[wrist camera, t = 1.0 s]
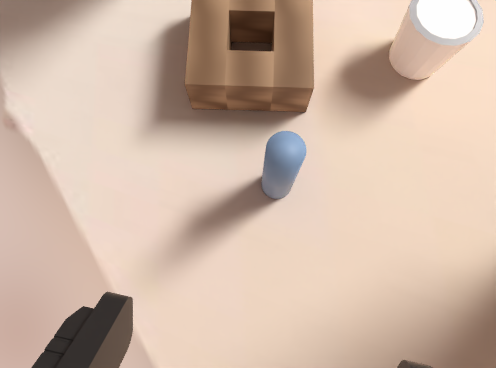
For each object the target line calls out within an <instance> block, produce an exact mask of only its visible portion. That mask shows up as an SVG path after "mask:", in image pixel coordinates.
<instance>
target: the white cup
mask: <svg viewBox="0 0 496 368" xmlns="http://www.w3.org/2000/svg"><path fill="white" fill-rule="evenodd" d="M483 23H484V20H483V10H482V8H481V6H480V5H479V3H478V1H477V0H412V1H411V3H410V5H409V7H408V10H407V12H406V14H405V16H404V19H403V21H402V23H401V25H400V28H399V30H398V32H397V34H396V37H395V39H394V41H393V43H392V46H391V48H390V50H389V60H390V63H391V65H392V67H393V68H394V69H395V70H396V71H397V72H398V73H399V74H400V75H402V76H404V77H406V78H409V79H416V80H421V79H425V78H428V77H430V76H431V75H433V74H434V73H435V72H436V71H437V70H438V69H439V68H441V67H442V66H443V65H444V64H445V63H446V62H447V61H448V60H450V59H451V58H452V57H453V56H454V55H455V54H456V53H458V52H459V51H460V50H461V49H462V48H463V47H464V46H465V45H467V44H468V43H469V42H470V41H471V40H472V39H473V38H474V37H476V36H477V35H478V34H479V33H480V30H481V28H482V25H483Z"/></svg>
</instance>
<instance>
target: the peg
mask: <svg viewBox="0 0 496 368" xmlns="http://www.w3.org/2000/svg"><path fill="white" fill-rule="evenodd" d="M305 156H306V145H305V143H304V141H303V139H302V138H301V137H300V136H299V135H297V134H295V133H293V132H290V131H281V132H278V133H276V134H274V135H273V136H272V137H271V138H270V139H269V140H268V142H267V145H266V152H265V159H264V167H263V175H262V182H261V186H262V190H263V192H264V193H265V194H266V195H267V196H268V197H270V198H273V199H280V198H283V197H285V196H286V195H287V194H288V193H289V191H290V189H291V187H292V185H293V183H294V181H295V178H296V176H297V174H298V172H299V170H300V167H301V165H302V163H303V161H304V158H305Z"/></svg>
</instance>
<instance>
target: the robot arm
mask: <svg viewBox="0 0 496 368" xmlns="http://www.w3.org/2000/svg"><path fill="white" fill-rule="evenodd" d="M132 331H133V300H132V297H128V296H124V295H120V294H115V293H111V292H106V293H105V294H104V295H103V296H102V297H101V299H100V301H99V302H98V304H97V305H96V307H95V308H94V309H93V308H89V307H84V306H83V307H82V308H80V309H79V310H78V311H76V312H75V313H73V314H72V315H71V316H70V317H68V318H67V319H66V320H65V321H64V323H63V324H62V326H61V327H60V328H59V330H58V331H57V333H56V334H55V336H54V338H53V339H52V340H51V341H50V343H49V344H48V345H47V347H46V348H45V351H44V353H42V354H41V355H40V357H39V358H38V359H37V361H36V362H35V364H34V365H33V366H32V368H119V366H120V364H121V362H122V360H123V358H124V356H125V354H126V352H127V349H128V347H129V344H130V341H131V337H132ZM397 368H432V367H431V366H428V365H424V364H419V363H415V362H411V361H406V360H403V361H401V362H400V364H399V366H398V367H397Z"/></svg>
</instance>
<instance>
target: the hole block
mask: <svg viewBox="0 0 496 368" xmlns="http://www.w3.org/2000/svg"><path fill="white" fill-rule="evenodd" d="M231 42H252V43H272V48H271V51H241V50H231ZM185 87H186V90H187V93H188V96H189V100H190V103H191V106H192V109H225V110H258V111H292V112H306V110H307V107H308V104H309V101H310V98H311V95H312V92H313V89H314V64H313V0H192V3H191V15H190V27H189V38H188V50H187V62H186V73H185Z"/></svg>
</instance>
